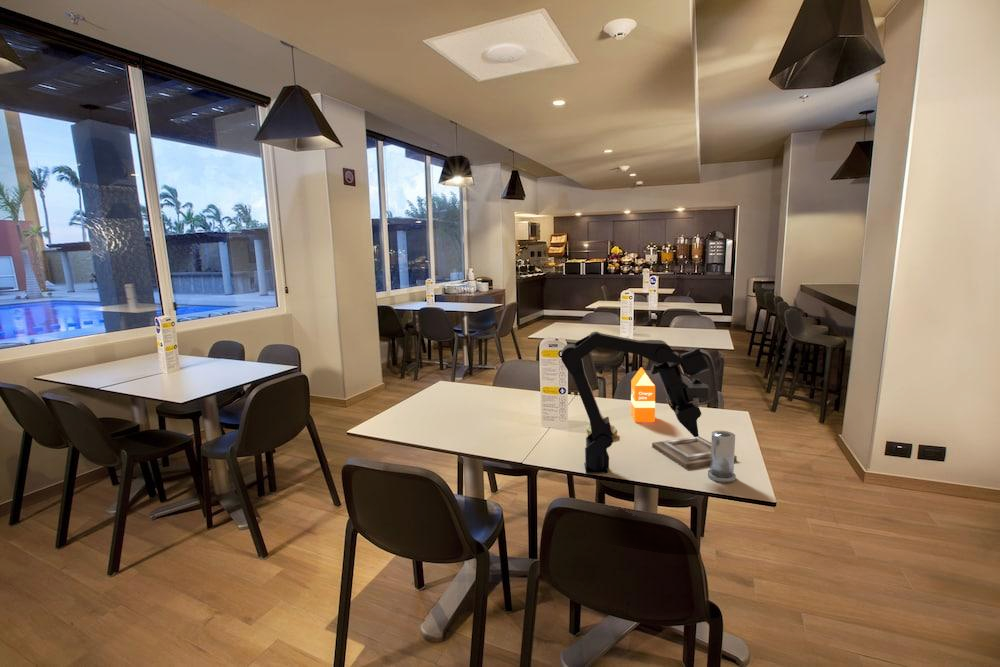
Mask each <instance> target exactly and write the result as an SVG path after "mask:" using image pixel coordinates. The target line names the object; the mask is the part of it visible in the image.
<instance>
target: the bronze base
mask: <svg viewBox="0 0 1000 667" xmlns="http://www.w3.org/2000/svg"><path fill="white" fill-rule="evenodd" d="M651 447H652V448H653V449H654V448H655V449H654V450H656V451H657V450H658V451H657V452H659V453H661V454H662V453H663V454H662V455H663V456H665V455H666V456H665V457H667V458H669V459H670V460H672V462H674V463H676V464H677V463H678V464H677V465H679V466H680V465H681V467H682V468H683V467H684V469H685V468H686V469H685V470H688V469H687V468H689V469H695V468H701V466H702V467H706V466H707V467H708V466H711V442H710V441H709V440H706V439H705V438H704V437H703V438H702V437H701V436H698V437H694V436H690V437H684V438H683V437H682V438H676V439H669V440H662V441H655V442H652V443H651ZM737 458H738V457H737V455H735V454H734V462H737V461H738V460H737Z"/></svg>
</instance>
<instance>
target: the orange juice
mask: <svg viewBox="0 0 1000 667" xmlns="http://www.w3.org/2000/svg"><path fill="white" fill-rule="evenodd" d="M630 382H631V383H630V386H631V388H630V390H631V391H630V416H631V417H632V420H633V419H634V420H633V422H634V421H635V422H655V421H656V419H655V418H656V385H655V383H653V381H652V380H651V379H650V377H649V376H648V374H647V373H646V371H645V369H644V368H643V367H640V368H639V369H638V370H637V372H636V374H634V376H633V377H632V379H631V380H630ZM635 422H634V423H635ZM655 423H656V422H655Z"/></svg>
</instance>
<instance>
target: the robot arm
mask: <svg viewBox="0 0 1000 667" xmlns="http://www.w3.org/2000/svg"><path fill="white" fill-rule="evenodd" d="M597 348H603V349H608V350H613V351H618V352H622V353H629V354H634V355H638V356H640V357H643V358H645V359H647V360H649V361H652V362H654V363H652V366H651V367H650V370H649V372H650V373H651V375H655V374H657V375H658V376H659V379H660V381H661V383H662V386H663V390H664V392H665V394H666V396H665V399H666V402H667V404H668V406H669V407H670V409H671V410H672V411H673V412H674V414H675V416H676V419H677V421H678V422H679V423H680V424H681V426H683V427H684V429H686V430H687V431H688V432H689V433H690V435H692V437H698V436H699V429H698V419H699V418H700V417H701V416H702V412H701V409H700V407H699V405H697V404H696V403H694V401H695V399H705V400H706V399H710V385H708V384H706V383H705V382H701V380H700V379H699V378H692V380H691V382H689V383H688V384H687V383H686V381H685V380H684V379H683V376H682V374H683V375H687V377H689V378H690V377H692V376H695V375H698V374H701V373H703V372H706V371H709V370H710V369H709V364H708V362H707V359H705V357H704V355H703V353H702V352H701V349H700V348H698V347H696V348H693V349H691V350H689V351H686V352H684V353H681V354H679V353H678V352H677V351H674V350H673V349H672V348H671V346H670V345H669V344H668V343H667V342H665V340H661V339H660V340H659V339H645V340H643V339H642V340H641V339H640V340H639V339H632V338H628V337H623V336H618V335H612V334H608V333H607V334H606V333H601V332H599V331H592V332H590V333H589V335H587V336H585V337H584V338H581V339H579V340H578V341H576V342H575V343H568V344H566V345H565V346H564V347H563V349H562V351H561V354H560V356H561V362H562V363H563V365H564V366H565V368H566V370H567V372H568V373H569V374H570V375H571V377H572V378H573V381H574V383H575V387H576V388H577V391H578V393H579V394H578V395H579V397H580V399H581V401H582V404H583V406H584V409H585V412H586V415H587V417H588V420H589V425H591V431H592V433H591V434H590V435H588V436H586V437H585V447H584V463H583V464H584V469H585V473H586V474H608V473H609V469H610V461H609V460H610V456H609V453H608V450H607V449H609V448H610V447H611V446H612V445H613V443H614V439H613V436H614V431H613V427H612V426H611V425H612V424H611V422H610V418H609V416H606V417H604V416H603V415H602V412H601V411H600V408H599V406H598V403H597V401H596V397H595V396H594V392H593V390H592V387H591V385H590V383H589V379H588V377H587V373H586V370H585V366H584V361H583V358H585V357H586V356H587V355H589V354H590V353H591V352H593V351H594V350H595V349H597ZM656 363H657V364H656ZM680 370H681V371H680ZM699 437H700V436H699Z"/></svg>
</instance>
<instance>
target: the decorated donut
mask: <svg viewBox="0 0 1000 667" xmlns="http://www.w3.org/2000/svg"><path fill="white" fill-rule="evenodd" d="M610 425H611V426H612V427H613V431H614V436H613V440H614V439H616V436H618V435H617V433H618V430H617V427H615V426H614V425H612V424H610ZM586 433H587V435H588V436H589V435H590V434H591V433H592V431H591V425H590V424H588V425H587V426H586Z"/></svg>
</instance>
